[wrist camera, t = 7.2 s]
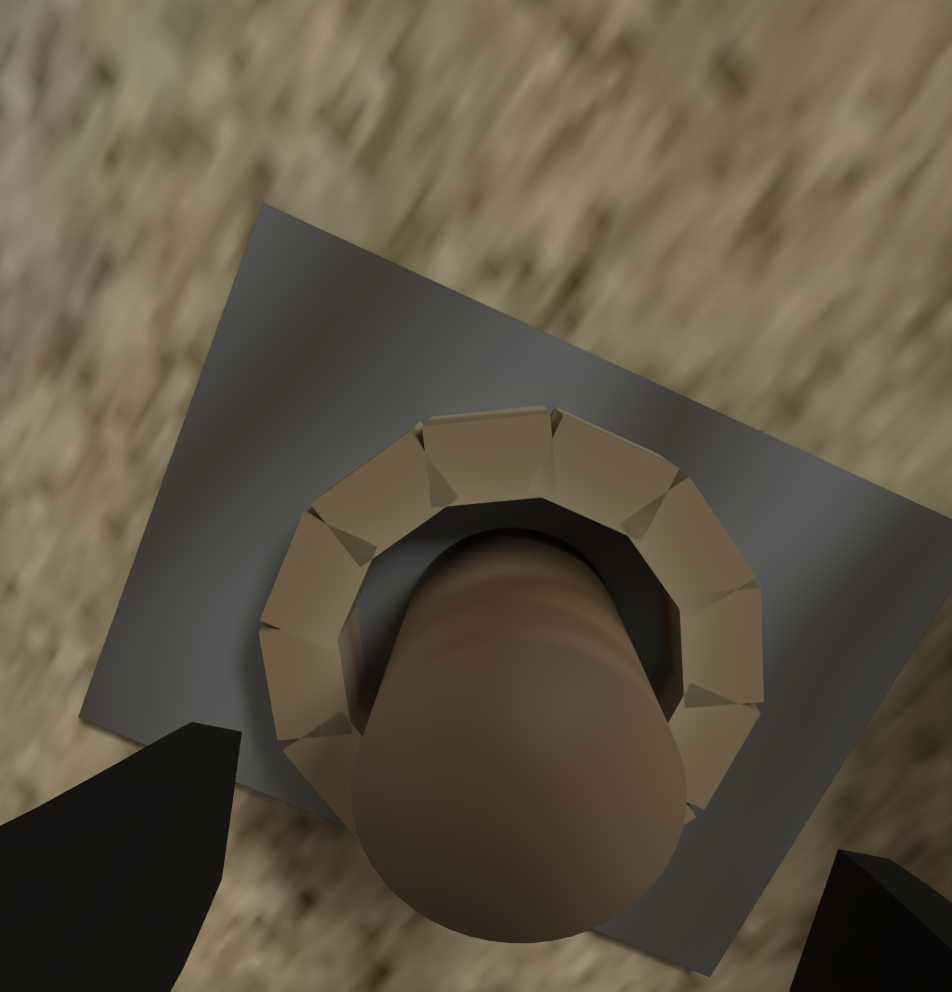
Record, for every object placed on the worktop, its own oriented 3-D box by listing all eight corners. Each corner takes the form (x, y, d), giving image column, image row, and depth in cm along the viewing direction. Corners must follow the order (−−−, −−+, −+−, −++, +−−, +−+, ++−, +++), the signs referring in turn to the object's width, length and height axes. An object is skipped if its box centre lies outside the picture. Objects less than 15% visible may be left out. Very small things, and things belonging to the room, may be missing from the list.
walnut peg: (635, 547, 15) (722, 675, 9) (592, 739, 16) (646, 967, 10) (423, 510, 15) (374, 616, 9) (392, 704, 16) (331, 913, 10)
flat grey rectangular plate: (969, 528, 15) (1050, 560, 13) (703, 959, 18) (734, 1049, 15) (270, 207, 14) (228, 181, 12) (90, 706, 17) (26, 762, 14)
